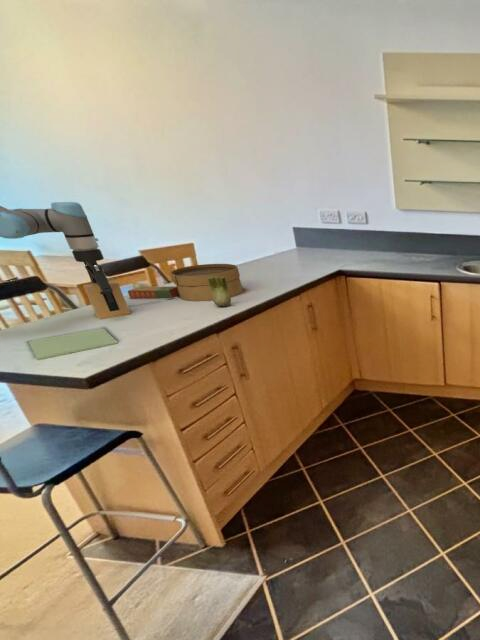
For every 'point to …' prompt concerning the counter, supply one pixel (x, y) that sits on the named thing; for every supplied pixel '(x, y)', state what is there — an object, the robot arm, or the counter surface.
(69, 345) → the mat
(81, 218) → the robot arm
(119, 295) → the packet
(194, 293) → the steamer basket
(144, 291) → the carton
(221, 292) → the fennel bulb
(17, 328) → the counter surface
